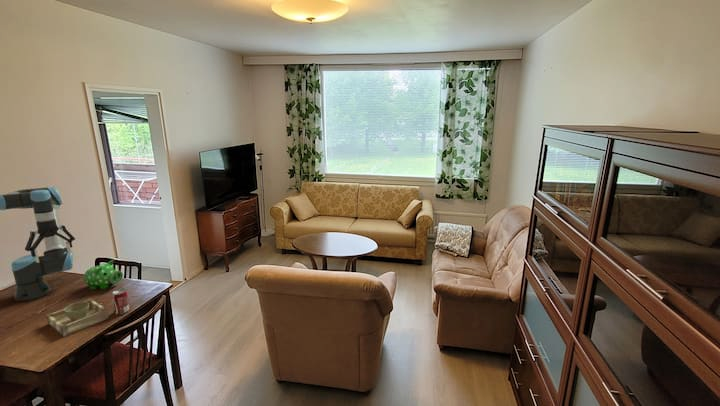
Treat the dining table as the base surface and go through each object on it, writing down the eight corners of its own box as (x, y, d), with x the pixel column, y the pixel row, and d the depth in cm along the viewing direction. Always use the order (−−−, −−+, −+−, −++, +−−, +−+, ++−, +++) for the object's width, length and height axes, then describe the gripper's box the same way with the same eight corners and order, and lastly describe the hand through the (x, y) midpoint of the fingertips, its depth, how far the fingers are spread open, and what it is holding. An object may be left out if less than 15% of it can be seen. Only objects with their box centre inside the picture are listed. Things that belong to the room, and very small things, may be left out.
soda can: (132, 309, 187) (129, 289, 184) (120, 316, 180) (116, 295, 177) (123, 307, 189) (120, 287, 186) (111, 313, 182) (107, 293, 180)
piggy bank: (110, 292, 204) (106, 269, 201) (80, 291, 204) (75, 268, 201) (126, 281, 218) (122, 259, 215) (98, 280, 218) (94, 259, 215)
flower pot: (77, 325, 170) (74, 312, 168) (61, 323, 172) (58, 310, 170) (96, 314, 180) (94, 302, 178) (80, 312, 182) (78, 300, 180)
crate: (48, 324, 173) (46, 314, 171) (92, 307, 188) (90, 298, 187) (63, 336, 163) (61, 326, 162) (108, 317, 179) (107, 308, 178)
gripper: (15, 227, 165) (25, 267, 170) (77, 215, 186) (85, 251, 191) (10, 224, 169) (20, 264, 174) (72, 213, 190) (79, 248, 195)
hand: (54, 257), depth 183 cm, fingers open, 13 cm apart
